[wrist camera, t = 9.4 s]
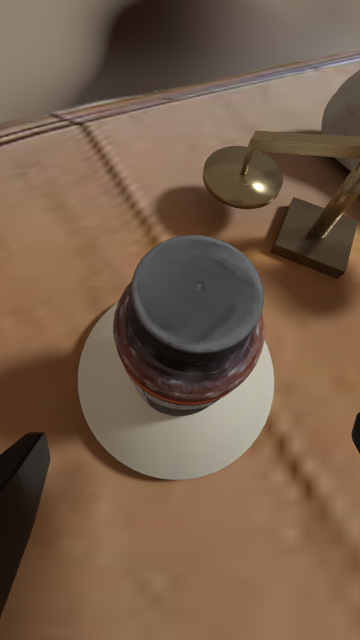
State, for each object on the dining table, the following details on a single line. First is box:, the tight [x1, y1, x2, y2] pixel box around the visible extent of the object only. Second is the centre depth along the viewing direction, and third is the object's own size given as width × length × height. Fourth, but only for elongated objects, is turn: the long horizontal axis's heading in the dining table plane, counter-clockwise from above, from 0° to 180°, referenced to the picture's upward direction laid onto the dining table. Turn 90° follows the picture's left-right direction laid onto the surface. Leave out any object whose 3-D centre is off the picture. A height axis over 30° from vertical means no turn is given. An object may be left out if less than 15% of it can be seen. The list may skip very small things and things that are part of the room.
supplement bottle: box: [113, 235, 265, 416], centre depth 13 cm, size 6×6×11 cm
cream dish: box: [78, 302, 274, 480], centre depth 19 cm, size 13×13×1 cm
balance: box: [203, 131, 360, 278], centre depth 20 cm, size 6×22×11 cm, turn 66°
